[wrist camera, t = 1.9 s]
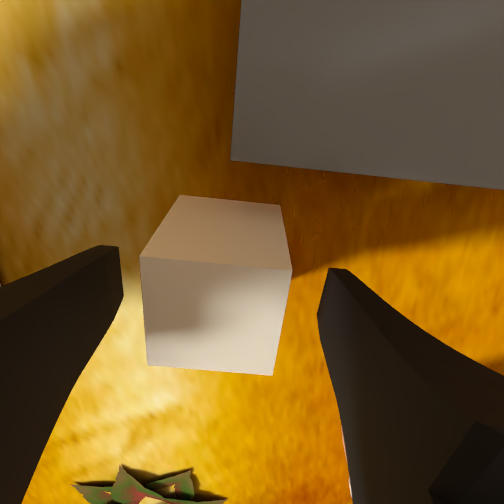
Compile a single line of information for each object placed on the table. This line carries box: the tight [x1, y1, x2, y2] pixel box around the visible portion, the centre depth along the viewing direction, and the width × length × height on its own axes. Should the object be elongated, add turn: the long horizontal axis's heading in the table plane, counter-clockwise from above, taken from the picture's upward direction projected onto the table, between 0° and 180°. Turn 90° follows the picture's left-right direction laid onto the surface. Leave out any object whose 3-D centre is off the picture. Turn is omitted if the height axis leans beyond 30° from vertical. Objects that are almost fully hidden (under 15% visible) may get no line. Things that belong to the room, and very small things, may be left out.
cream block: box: [139, 195, 293, 375], centre depth 11 cm, size 4×4×5 cm
